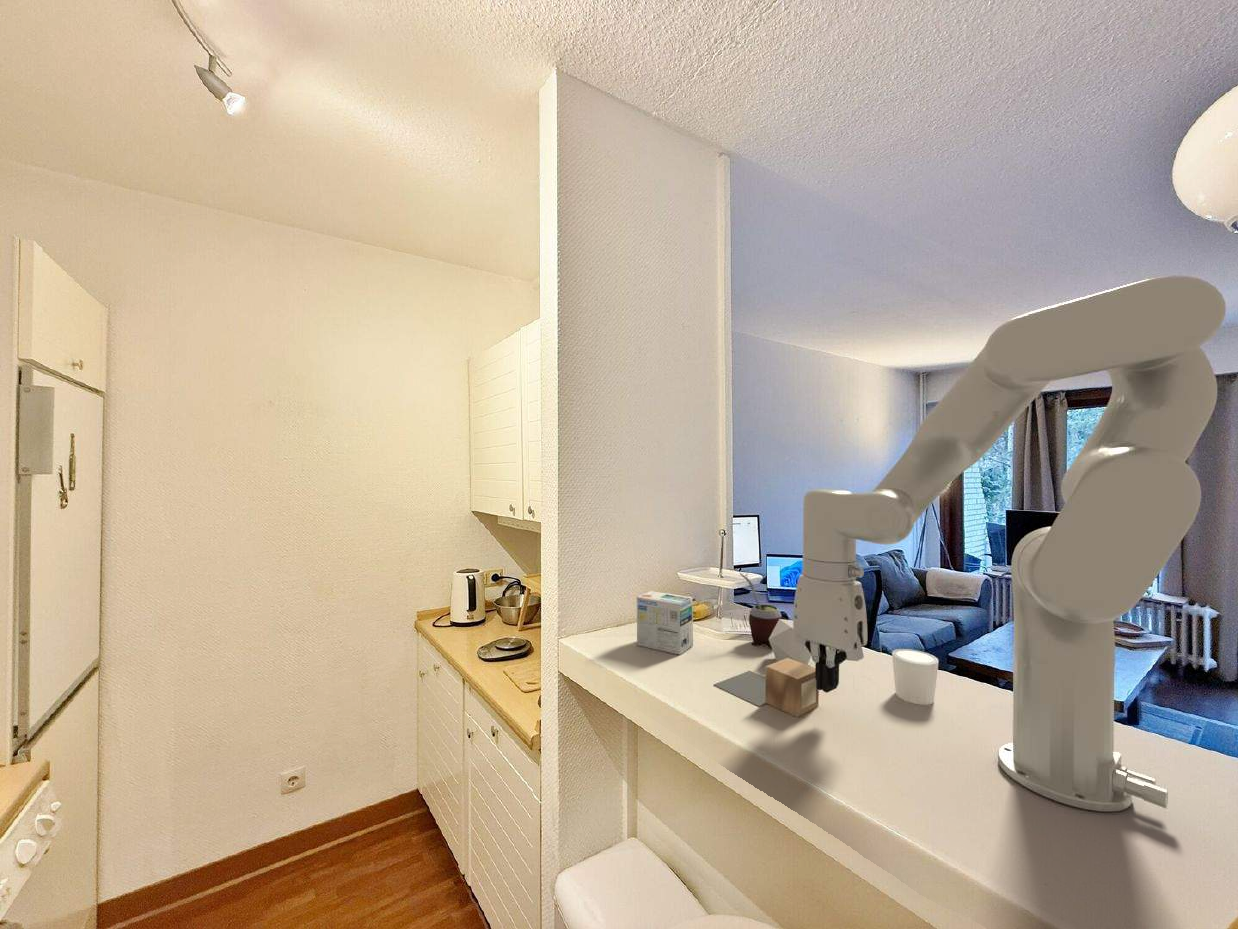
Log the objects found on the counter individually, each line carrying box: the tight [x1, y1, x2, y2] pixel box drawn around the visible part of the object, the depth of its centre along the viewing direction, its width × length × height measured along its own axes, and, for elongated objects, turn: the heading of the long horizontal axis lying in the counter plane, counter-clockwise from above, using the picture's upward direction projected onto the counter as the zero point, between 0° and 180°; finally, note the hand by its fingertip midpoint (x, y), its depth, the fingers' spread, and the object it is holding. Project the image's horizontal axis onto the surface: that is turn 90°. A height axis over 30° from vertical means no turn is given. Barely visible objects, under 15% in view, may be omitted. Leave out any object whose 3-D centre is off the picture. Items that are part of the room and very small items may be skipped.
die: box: [769, 618, 812, 666], centre depth 100 cm, size 8×9×10 cm
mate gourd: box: [739, 572, 783, 650], centre depth 111 cm, size 8×8×15 cm
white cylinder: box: [891, 648, 939, 706], centre depth 86 cm, size 7×7×7 cm
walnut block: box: [765, 658, 820, 718], centre depth 83 cm, size 6×6×6 cm
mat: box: [713, 670, 768, 708], centre depth 89 cm, size 10×10×1 cm
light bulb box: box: [636, 590, 694, 656], centre depth 109 cm, size 11×7×11 cm, turn 58°
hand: (826, 688), depth 78 cm, fingers closed
